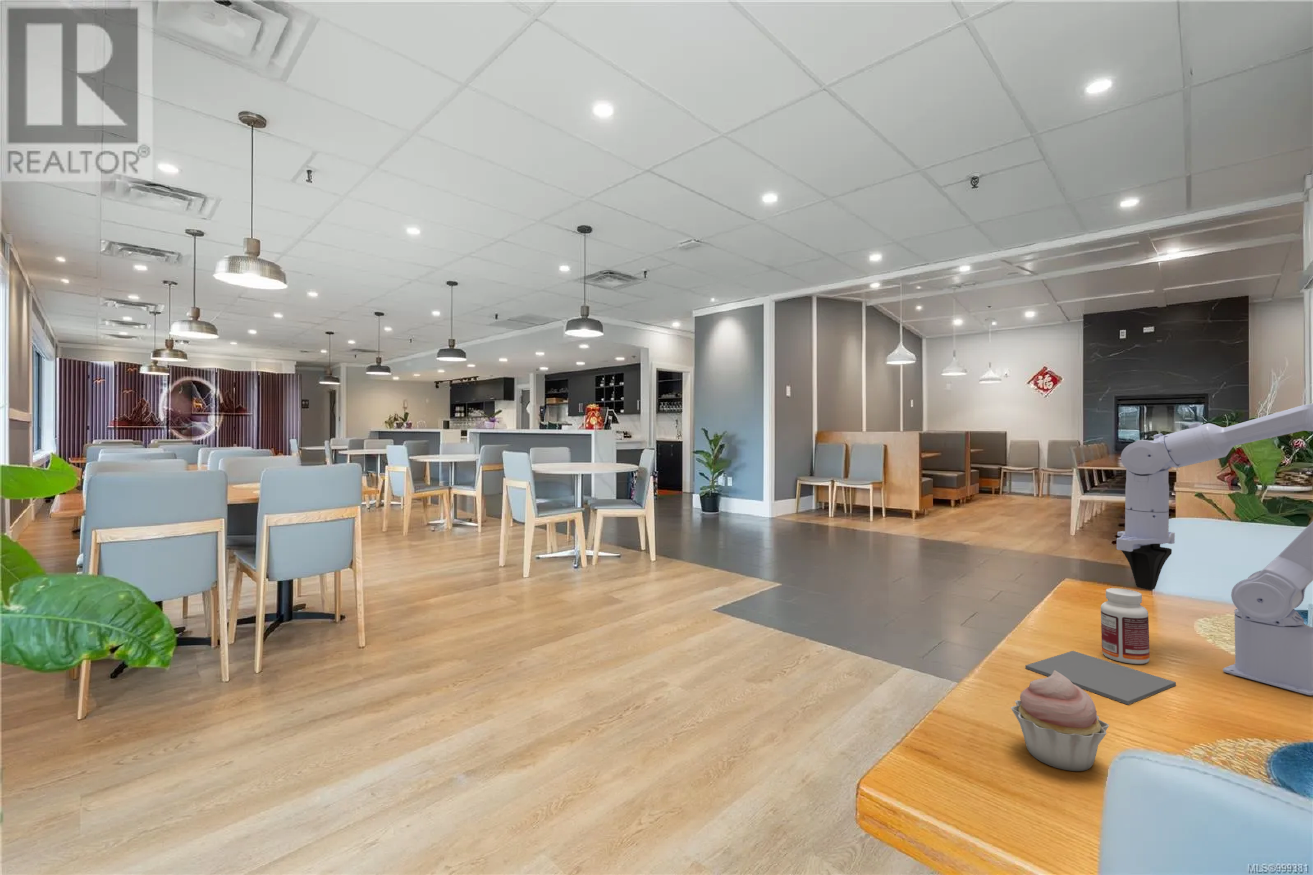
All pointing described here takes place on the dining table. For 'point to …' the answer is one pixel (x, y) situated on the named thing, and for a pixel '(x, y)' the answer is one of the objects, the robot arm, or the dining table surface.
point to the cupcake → (1059, 723)
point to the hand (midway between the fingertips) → (1145, 588)
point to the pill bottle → (1125, 627)
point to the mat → (1103, 677)
